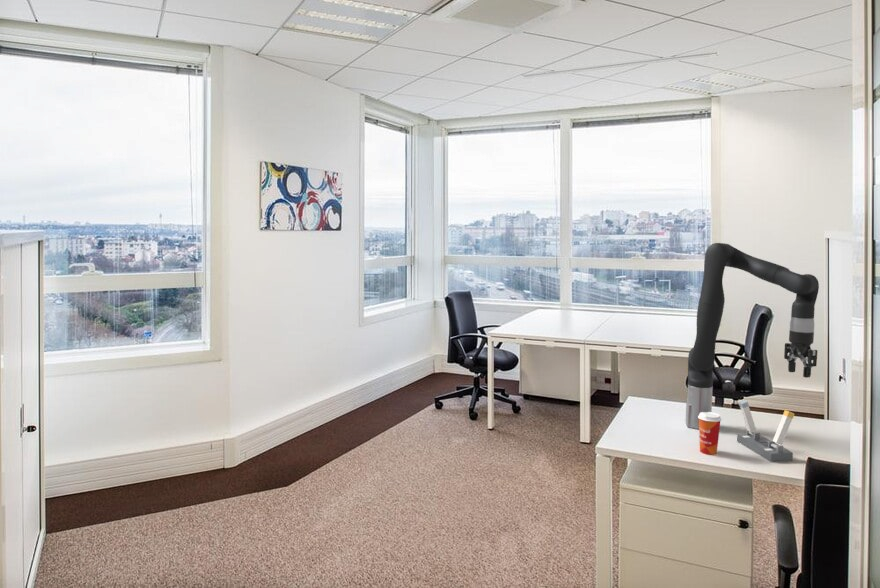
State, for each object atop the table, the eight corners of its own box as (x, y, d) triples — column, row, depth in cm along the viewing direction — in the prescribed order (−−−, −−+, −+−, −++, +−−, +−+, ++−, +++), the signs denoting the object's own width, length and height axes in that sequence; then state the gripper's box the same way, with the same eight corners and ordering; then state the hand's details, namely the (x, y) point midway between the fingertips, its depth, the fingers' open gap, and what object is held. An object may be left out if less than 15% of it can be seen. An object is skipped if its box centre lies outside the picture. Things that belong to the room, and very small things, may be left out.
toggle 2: (775, 449, 204) (790, 412, 203) (769, 445, 208) (783, 409, 207) (780, 451, 205) (795, 414, 204) (774, 447, 208) (789, 411, 207)
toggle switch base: (770, 462, 203) (771, 447, 202) (736, 441, 223) (737, 428, 222) (792, 461, 203) (793, 446, 203) (756, 440, 223) (757, 427, 223)
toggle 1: (753, 438, 217) (742, 404, 216) (747, 434, 221) (737, 401, 219) (759, 435, 218) (748, 402, 216) (753, 432, 221) (743, 399, 219)
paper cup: (692, 448, 216) (694, 411, 214) (712, 447, 217) (714, 410, 215) (703, 456, 208) (705, 418, 207) (724, 455, 209) (726, 417, 207)
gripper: (826, 333, 203) (823, 379, 205) (797, 326, 217) (795, 369, 219) (805, 333, 203) (803, 380, 204) (778, 326, 217) (776, 370, 219)
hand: (799, 374), depth 212 cm, fingers open, 7 cm apart
